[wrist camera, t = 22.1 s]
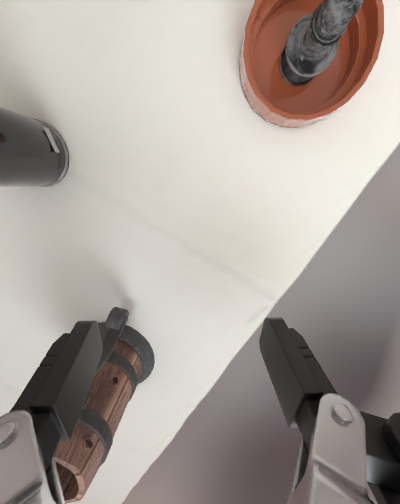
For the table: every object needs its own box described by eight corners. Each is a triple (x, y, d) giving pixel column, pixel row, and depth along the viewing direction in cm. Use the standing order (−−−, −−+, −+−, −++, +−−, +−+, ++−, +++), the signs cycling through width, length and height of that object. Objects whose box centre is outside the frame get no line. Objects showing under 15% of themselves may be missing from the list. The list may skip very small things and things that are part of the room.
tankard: (143, 396, 48) (100, 535, 29) (69, 374, 48) (-26, 503, 29) (172, 309, 41) (139, 419, 22) (85, 282, 40) (-28, 372, 21)
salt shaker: (317, 23, 27) (394, -93, 16) (328, 75, 28) (406, 5, 17) (270, 48, 28) (311, -44, 16) (284, 97, 29) (330, 44, 18)
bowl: (233, 124, 31) (236, 116, 27) (246, -17, 26) (253, -52, 22) (341, 130, 31) (361, 122, 27) (374, -13, 26) (404, -48, 22)
